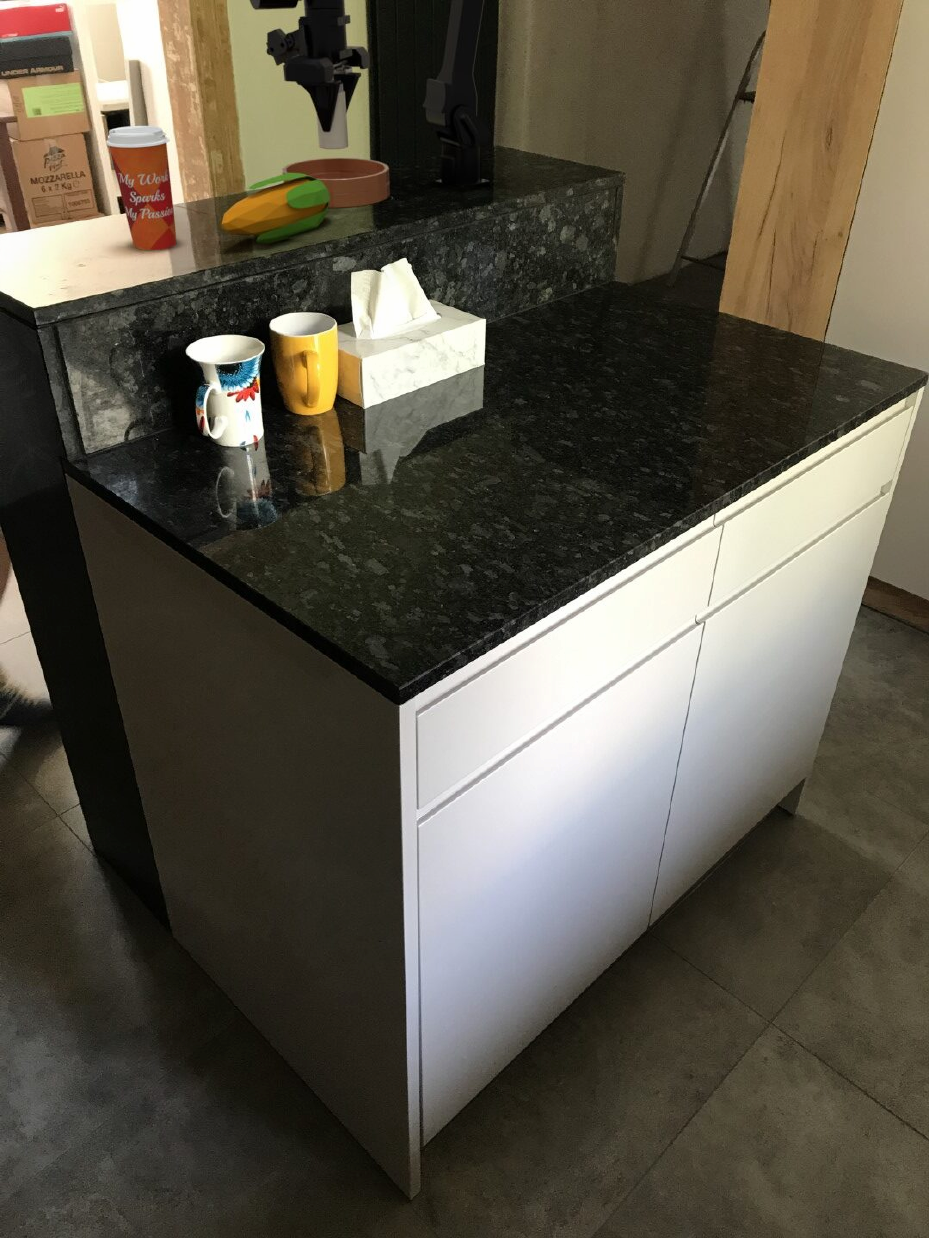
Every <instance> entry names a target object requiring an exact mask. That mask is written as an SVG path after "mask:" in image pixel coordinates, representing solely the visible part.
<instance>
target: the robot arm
mask: <svg viewBox="0 0 929 1238" xmlns="http://www.w3.org/2000/svg"><path fill="white" fill-rule="evenodd" d="M302 1H303V7H304V8H303V11H304V15H302V16H299V19H298V20H297V25H298V29H295V30H292V31H290V32H287V33H285V31H283V29H282V28H275V29H273V30H271V31H268V32H267V33H266V42H265V44H266V47H267V48H266V51H265V52H266V55H268V56H271V57H272V58H273V60H274V63H275V65H276V66H277V67H279V66H280V65H282V68H283V80H284V82H292V83H296V84H297V85H298V86H301V87H302V88H303V90H304V91H306V92H307V93H308V95H309V97H310V99H311V101H312V104H313V107H314V110H315V112H316V117H317V116H318V119H319V121H320V124H321V127H322V130H323V131H324V132H330V131H331V127H332V123H333V118H334V113H335V108H336V103H337V98H338V93H339V88H340V83H343V90H344V91H345V100H346V114H348V111H349V107H350V104H351V101H352V99H353V95H354V93H355V90H356V87H357V85H358V82H359V79H360V78H361V77H362V73H361V72H355V71H354V72H353V68H359V69H360V70H367V69H369V68H371V61H370V59H371V57H370V53H369V51H368V50H367V49H366V48H365V47H364V46H358V45H348V40H347V37H348V36H347V25H349V24H351V14H346V3H345V0H249V2H250V5H251V7H252V9H254V10H255V11H258V10H261V11H262V10H286V9H288V10H289V9H290V10H291V9H292V10H293V9H295V8H297V7H298V3H299V2H302ZM484 4H485V0H451V6H450V11H449V12H450V13H449V18H448V19H449V20H448V27H447V33H446V41H445V48H444V56H443V61H442V68H441V70H440V72H439V74H438V75H437V76H436V77H437V78H436V79H432V78H427V80H426V93H425V94H426V95H425V100H424V102H423V104H422V107H423V108H425V117H426V120H427V122H428V124H429V126H430V127H431V128H432V129H434V133H435V135H436V138H437V140H438V141H439V142H444V143H443V144H441V156H440V168H441V169H440V178H441V179H437V180H435V182H436V183H441V184H444V185H450V186H456V187H459V188H467V187H470V186H471V187H472V186H474V187H479V186H485V185H489V184H490V180H488V179H485V178H483V148H484V147H488V146H489V145H488V144H489V141H490V139H491V134H492V132H491V130H489V128H488V127H487V126H486V124H484V123H483V121H482V120H481V119H480V118H479V116H478V93H477V89H476V83H475V79H474V69H475V62H476V55H477V49H478V42H479V36H480V30H481V23H482V16H483V10H484Z"/></svg>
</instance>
